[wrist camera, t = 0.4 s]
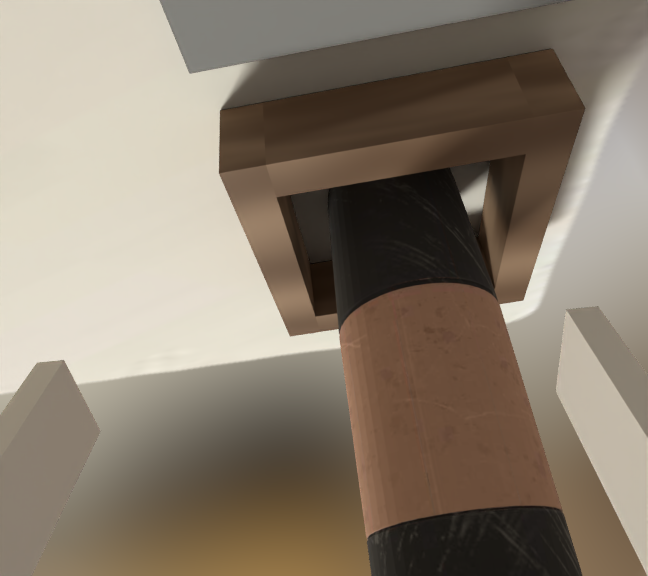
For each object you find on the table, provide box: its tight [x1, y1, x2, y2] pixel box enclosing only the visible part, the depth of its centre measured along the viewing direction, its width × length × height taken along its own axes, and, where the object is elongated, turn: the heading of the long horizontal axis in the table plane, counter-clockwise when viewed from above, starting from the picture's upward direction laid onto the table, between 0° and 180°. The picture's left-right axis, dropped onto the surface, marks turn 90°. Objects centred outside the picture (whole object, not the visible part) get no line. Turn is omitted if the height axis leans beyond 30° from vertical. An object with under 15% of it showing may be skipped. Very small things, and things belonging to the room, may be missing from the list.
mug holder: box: [219, 49, 585, 336], centre depth 29 cm, size 15×15×4 cm
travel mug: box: [328, 168, 582, 576], centre depth 25 cm, size 8×8×20 cm
